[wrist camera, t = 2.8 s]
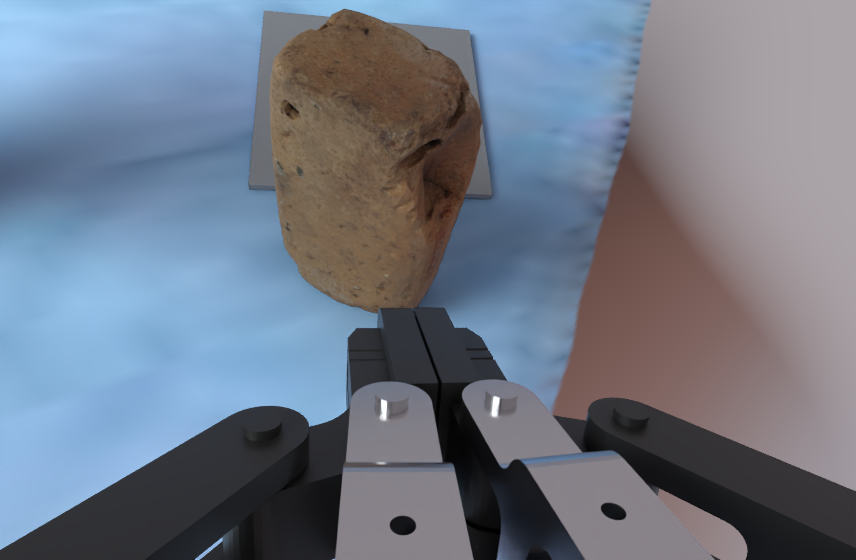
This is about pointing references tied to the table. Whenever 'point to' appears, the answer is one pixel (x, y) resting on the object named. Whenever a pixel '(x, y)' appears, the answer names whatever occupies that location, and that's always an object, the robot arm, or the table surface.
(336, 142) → the rough sandstone rock
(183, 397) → the table surface
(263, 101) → the mat
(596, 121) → the table surface
